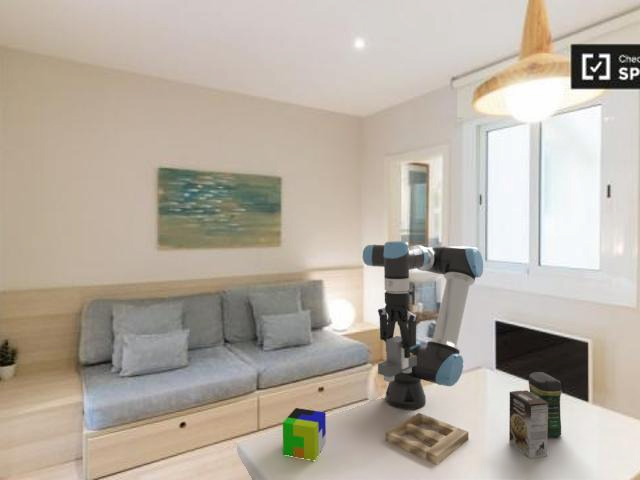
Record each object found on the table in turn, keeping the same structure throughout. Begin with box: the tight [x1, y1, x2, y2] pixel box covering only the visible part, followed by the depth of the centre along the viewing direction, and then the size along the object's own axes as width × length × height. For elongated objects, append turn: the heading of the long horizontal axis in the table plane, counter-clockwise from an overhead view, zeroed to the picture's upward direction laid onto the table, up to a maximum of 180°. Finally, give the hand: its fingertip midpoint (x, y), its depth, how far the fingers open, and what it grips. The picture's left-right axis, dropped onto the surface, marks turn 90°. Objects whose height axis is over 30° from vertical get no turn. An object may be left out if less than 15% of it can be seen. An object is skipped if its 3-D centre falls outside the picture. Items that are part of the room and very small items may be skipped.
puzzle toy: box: [282, 407, 327, 461], centre depth 121 cm, size 10×10×10 cm
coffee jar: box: [528, 371, 563, 439], centre depth 130 cm, size 10×8×19 cm
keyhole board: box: [384, 412, 469, 465], centre depth 125 cm, size 18×19×2 cm
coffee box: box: [508, 390, 548, 459], centre depth 119 cm, size 9×6×16 cm
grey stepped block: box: [377, 335, 417, 383], centre depth 124 cm, size 4×14×12 cm, turn 132°
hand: (398, 365), depth 124 cm, fingers closed on grey stepped block, 4 cm apart
